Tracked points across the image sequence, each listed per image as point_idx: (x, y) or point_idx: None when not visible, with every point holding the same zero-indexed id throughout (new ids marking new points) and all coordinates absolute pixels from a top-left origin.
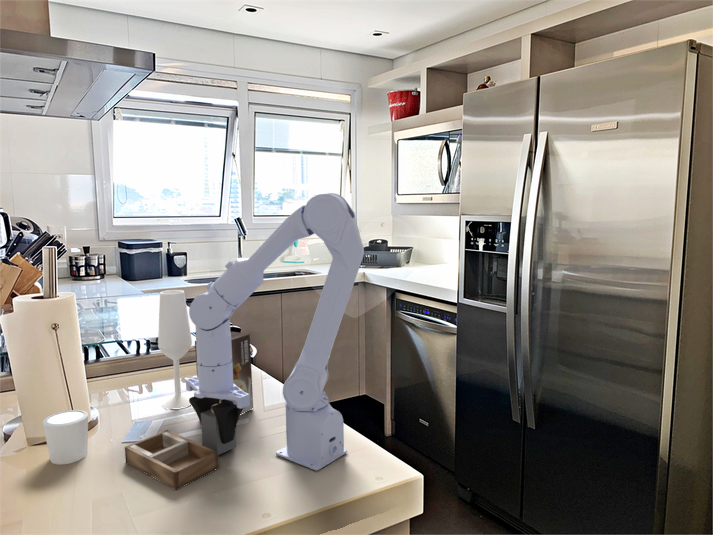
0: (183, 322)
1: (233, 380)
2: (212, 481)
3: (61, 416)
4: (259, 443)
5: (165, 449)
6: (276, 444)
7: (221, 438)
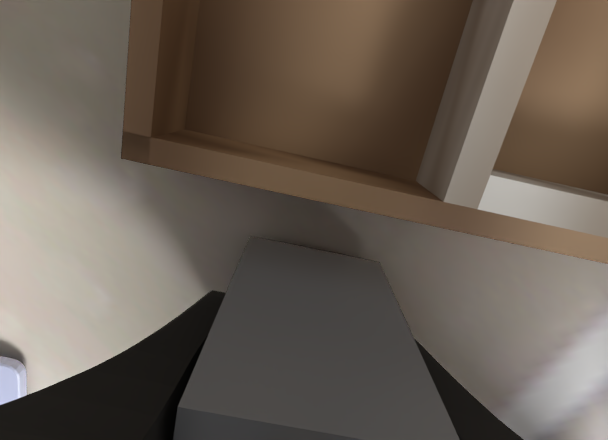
0: None
1: None
2: (93, 9)
3: None
4: None
5: (536, 19)
6: None
7: (214, 303)
